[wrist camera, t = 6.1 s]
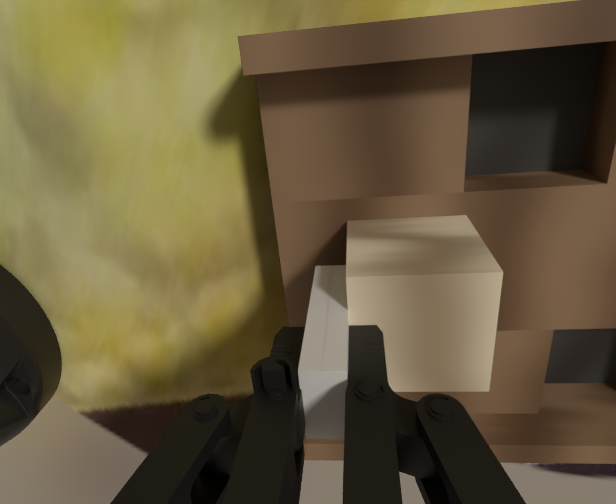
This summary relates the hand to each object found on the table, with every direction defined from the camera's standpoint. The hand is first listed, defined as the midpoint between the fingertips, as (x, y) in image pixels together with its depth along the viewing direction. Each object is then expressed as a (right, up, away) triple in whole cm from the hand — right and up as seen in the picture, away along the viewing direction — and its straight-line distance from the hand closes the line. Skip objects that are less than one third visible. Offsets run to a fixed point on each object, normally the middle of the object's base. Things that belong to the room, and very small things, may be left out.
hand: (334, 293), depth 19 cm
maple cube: (+3, +1, +1) cm, 4 cm away
